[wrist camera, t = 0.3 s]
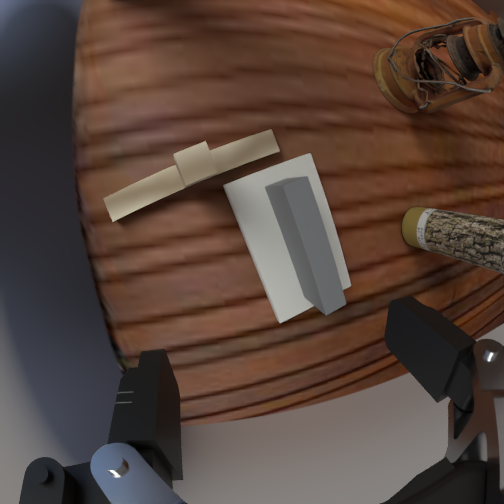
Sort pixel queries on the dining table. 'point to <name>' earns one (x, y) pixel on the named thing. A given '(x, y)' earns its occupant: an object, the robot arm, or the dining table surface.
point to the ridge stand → (291, 237)
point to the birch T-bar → (190, 171)
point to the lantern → (431, 70)
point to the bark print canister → (457, 235)
